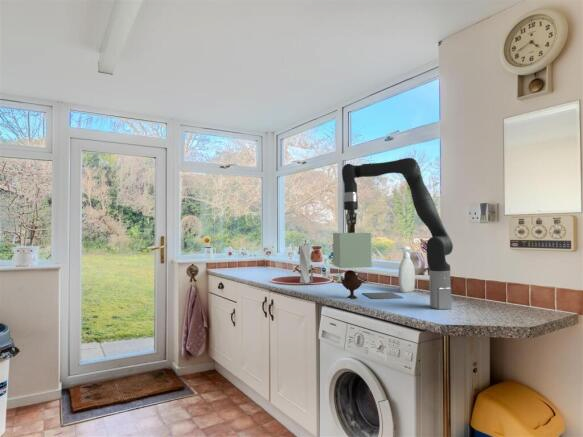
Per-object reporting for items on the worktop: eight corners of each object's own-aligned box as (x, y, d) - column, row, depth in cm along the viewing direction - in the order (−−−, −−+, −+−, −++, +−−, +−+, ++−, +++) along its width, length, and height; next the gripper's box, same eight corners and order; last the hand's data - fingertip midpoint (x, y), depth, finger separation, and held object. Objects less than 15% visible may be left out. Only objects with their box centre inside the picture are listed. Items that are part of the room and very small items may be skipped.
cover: (371, 267, 200) (370, 223, 201) (340, 267, 198) (339, 223, 199) (362, 264, 216) (361, 223, 217) (333, 265, 214) (332, 224, 215)
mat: (403, 298, 205) (403, 297, 205) (371, 299, 203) (371, 298, 203) (391, 293, 222) (391, 292, 222) (362, 293, 220) (362, 293, 220)
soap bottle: (407, 289, 234) (406, 245, 235) (418, 291, 228) (418, 245, 229) (392, 292, 225) (392, 246, 226) (405, 293, 219) (404, 246, 220)
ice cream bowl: (362, 300, 200) (361, 271, 201) (340, 299, 203) (340, 271, 203) (362, 296, 211) (362, 269, 211) (342, 296, 213) (341, 269, 213)
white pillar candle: (306, 284, 263) (306, 243, 264) (297, 283, 268) (296, 243, 269) (313, 282, 269) (313, 242, 270) (304, 282, 274) (303, 242, 275)
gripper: (361, 199, 202) (361, 232, 201) (353, 202, 216) (354, 232, 215) (347, 199, 201) (347, 232, 200) (340, 202, 215) (341, 232, 214)
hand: (351, 232), depth 208 cm, fingers closed on cover, 4 cm apart
